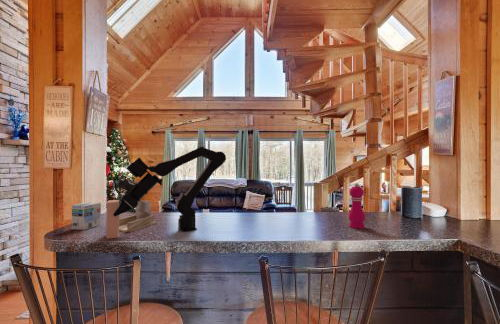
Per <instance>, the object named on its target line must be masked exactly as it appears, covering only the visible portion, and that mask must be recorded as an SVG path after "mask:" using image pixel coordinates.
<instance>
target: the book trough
mask: <svg viewBox="0 0 500 324" xmlns="http://www.w3.org/2000/svg"><path fill="white" fill-rule="evenodd" d="M155 224H157V221H155V215H153V214H152V201H151V200H140V201H139V202H138V205H137V206H136V207H135V214H133V215H130V216H125V217H122V218H119V232H126V233H134V232H135V231H138V230H141V229H144V228H148V227H150V226H153V225H155Z"/></svg>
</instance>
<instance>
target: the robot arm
mask: <svg viewBox="0 0 500 324" xmlns="http://www.w3.org/2000/svg"><path fill="white" fill-rule="evenodd" d="M199 157H202V158H205V159H206V160H207V163H206V166H205V168H204V169H203V170H202V171H201V172H200V174H199V175H198V177H197V178H196V180H195V181H194V182H193V183H192V185H191V186H190V188H189V189H188V191H186V192H185V193H183V192H181V193H180V195H178V197H177V198H176V199H175V201H176V202H175V203H174V204H175V205H174V207H175V208H176V211H177V212H179V213H180V215H179V218H178V220H177V221H178V223H177V225H178V226H177V228H178V230H180V231H182V232H187V231H188V232H191V231H195V230H198V228H197V227H196V210H194V209H193V208H192V207H193V204H194V202H195V198H196V197H197V195H198V194H199V192H200V191H201V190H202V189H203V187H204V186H205V184H206V183H207V181H208V180H209V179H210V177H211V176H212V175H213V174H214V172H215V171H216V170H217V169H219V168H220V167H221V166H222V165H224V163H225V162H226V160H227V157H226V153H224V152H223V151H214V150H211V149H209V148H205V147H204V146H199V147H197V148H196V149H194V150H191V151H189V152H187V153H184V154H182V155H180V156H178V157H176V158H173V159H170V160H169V159H168V160H166V161H161V162H158V163H157V164H155V165H153V166H151V165H150V166H148V165H147V164H146V163H145V162H144V161H143V160H142V159H141V158H140V157H138V158H137V159H135V160H134V161H133V162H131V163H130V164H129V165H128V166H127V167H126V168H125V169H126V170H127V171H128V172H129V173H130V174H132V176H133V177H135V178H136V179H137V178H140V180H139V181H138V182H135V183H132V182H130V181H129V180H128V179H126V178H124V179H123V178H120V179H119V181H118V183H117V185H116V187H118V188H119V189H123V190H126V191H125V192H124V193H123V196H122V197H120V202H119V207H118V208H117V210H116V211H115V212H114V214H113V215H114V216H117V215H119V216H120V215H122V214H124V213H127V212H129V211H131V210H134V209H136V206H137V205H138V202H139V201H141V199H143V197H144V196H145V195H147V194H149V192H150V191H151V190H152V189H153V188H154V187H156V185H157V184H159V185H160V186H163V181H164V180H163V178H159V177H166V176H167V175H169V174H170V173H171V172H173V171H174V170H176V169H177V168H179V167H181V166H182V165H185V164H186V163H190V162H191V161H193V160H195V159H198V158H199ZM148 170H149V171H148ZM151 173H155V174H153V175H152V174H151ZM158 176H159V177H158Z"/></svg>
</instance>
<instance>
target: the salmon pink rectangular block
mask: <svg viewBox="0 0 500 324" xmlns="http://www.w3.org/2000/svg"><path fill="white" fill-rule="evenodd" d="M119 205H120V199H114V200H113V199H111V200H108V201H106V207H105V208H106V239H115V238H119V235H120V231H119V219H120V215H117V216H114V215H113V214H114V212H115V211H116V210H117V208H118V207H119Z"/></svg>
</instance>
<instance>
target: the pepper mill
mask: <svg viewBox="0 0 500 324" xmlns="http://www.w3.org/2000/svg"><path fill="white" fill-rule="evenodd" d="M364 194H365V192H364V189H363V187H361V186H360V185H359V183H358V182H356V183H354V186H352V187H351V188H350V189H349V195H350V201H351V208H350V210H349V213H348V216H347V218H348V220H349V221H350V222H349V227H350V228H351V229H359V230H361V229H364V228H365V223H364V222H365V220H366V214H365V212H364V210H363V207H362V202H363V196H364Z"/></svg>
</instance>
